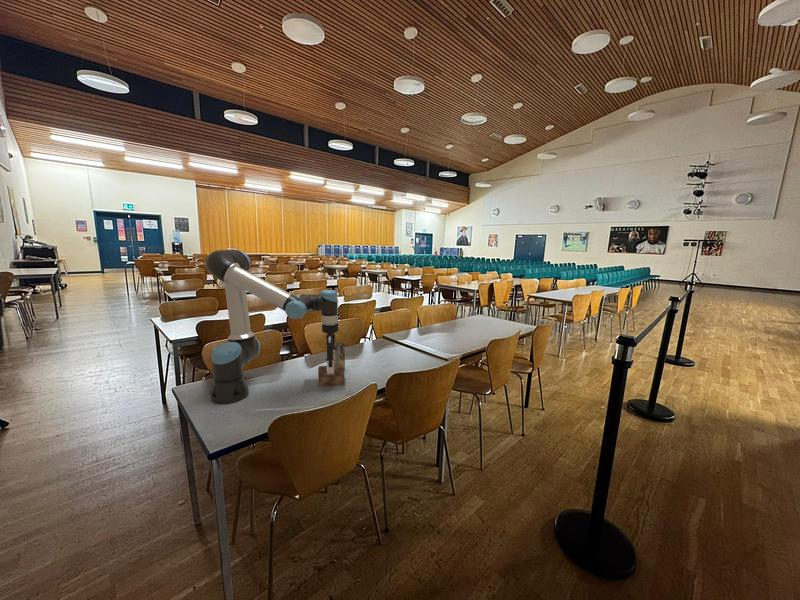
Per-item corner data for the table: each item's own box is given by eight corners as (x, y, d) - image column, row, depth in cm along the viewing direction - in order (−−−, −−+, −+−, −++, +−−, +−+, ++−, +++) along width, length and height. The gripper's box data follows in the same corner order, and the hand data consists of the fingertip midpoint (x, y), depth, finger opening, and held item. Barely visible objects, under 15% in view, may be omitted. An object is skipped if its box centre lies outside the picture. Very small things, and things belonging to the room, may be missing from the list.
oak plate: (334, 375, 154) (333, 356, 153) (327, 375, 154) (327, 356, 152) (335, 367, 164) (335, 349, 163) (329, 367, 164) (328, 349, 162)
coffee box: (334, 370, 180) (333, 341, 178) (345, 371, 179) (344, 342, 176) (327, 376, 172) (326, 347, 169) (339, 378, 170) (338, 347, 167)
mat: (300, 394, 152) (300, 392, 152) (305, 381, 165) (305, 379, 165) (345, 392, 155) (345, 390, 154) (345, 379, 168) (345, 377, 168)
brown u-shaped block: (318, 386, 158) (318, 368, 156) (319, 383, 161) (318, 366, 159) (344, 385, 160) (344, 367, 158) (344, 382, 163) (344, 364, 161)
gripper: (337, 329, 145) (338, 377, 148) (339, 317, 167) (340, 360, 170) (319, 330, 143) (321, 378, 147) (323, 318, 166) (325, 360, 169)
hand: (331, 368), depth 159 cm, fingers closed on oak plate, 10 cm apart
